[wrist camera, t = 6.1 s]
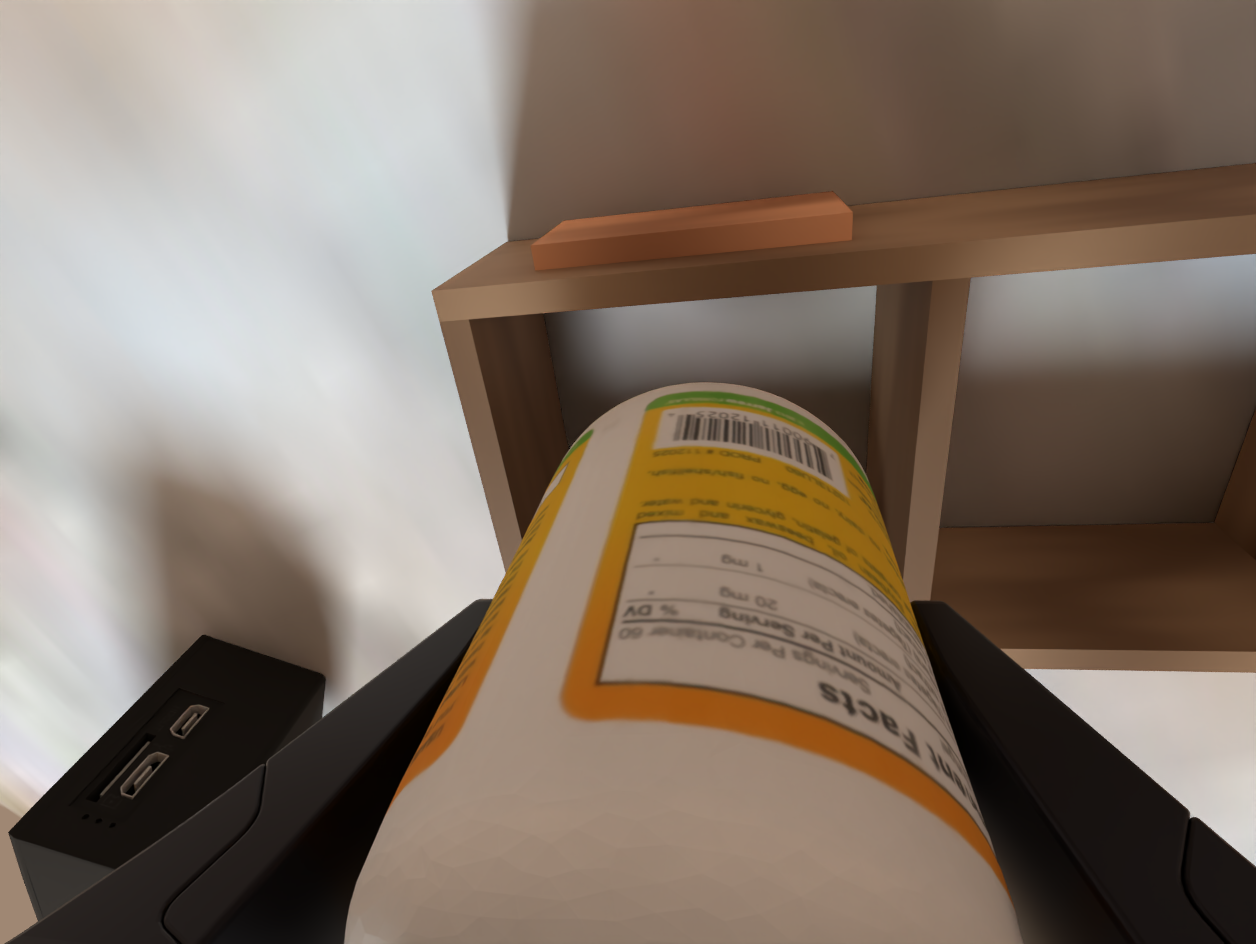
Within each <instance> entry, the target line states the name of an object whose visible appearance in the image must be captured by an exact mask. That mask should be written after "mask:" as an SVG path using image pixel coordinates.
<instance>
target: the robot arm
mask: <svg viewBox="0 0 1256 944" xmlns="http://www.w3.org/2000/svg"><path fill="white" fill-rule="evenodd" d="M492 600H493V599H478V600H476V601H474V602H473V603H471V604H470V605H469V606H468V607H466V608H465V609H464V610H462V611H461V612H460V613H458V614H457V615H456V616H455V617H453V618H452V619H451V620H449V621H448V622H447V623H445V624H444V625H443V626H441V627H440V628H439V629H438V630H436V631H435V632H434V633H432V634H431V635H430V636H428V637H427V638H426V639H425V640H423V641H422V642H421V643H419V644H418V645H417V646H415V647H414V648H413V649H412V650H410V651H409V652H408V653H406V654H405V655H404V656H402V657H401V658H400V659H398V660H397V661H396V662H395V663H393V664H392V665H391V666H389V667H388V668H387V669H385V670H384V671H383V672H382V673H380V674H379V675H378V676H376V677H375V678H374V679H372V680H371V681H370V682H369V683H367V684H366V685H365V686H363V687H362V688H361V689H359V690H358V691H357V692H355V693H354V694H353V695H352V696H350V697H349V698H348V699H346V700H345V701H344V702H342V703H341V704H340V705H339V706H337V707H336V708H335V709H333V710H332V711H331V712H329V713H328V714H327V715H326V716H324V717H323V718H322V719H320V720H319V721H318V722H316V723H315V724H314V725H312V726H311V727H310V728H309V729H307V730H306V731H305V732H303V733H302V734H301V735H299V736H298V737H297V738H296V739H294V740H293V741H292V742H290V743H289V744H288V745H286V746H285V747H284V748H282V749H281V750H280V751H279V752H277V753H276V754H275V755H273V756H272V757H271V758H269V759H268V761H267V763H266V765H264V764H262V765H260V766H259V767H257V768H256V769H255V770H254V771H252V772H251V773H250V774H248V775H247V776H246V777H244V778H243V779H242V780H241V781H239V782H238V783H237V784H235V785H234V786H233V787H231V788H230V789H229V790H227V791H226V792H225V793H223V794H222V795H220V796H219V797H218V798H216V799H215V800H214V801H212V802H211V803H210V804H208V805H207V806H206V807H204V808H203V809H202V810H200V811H199V812H198V813H196V814H195V815H194V816H192V817H191V818H189V819H188V820H186V821H185V822H184V823H182V824H181V825H179V826H178V827H176V828H175V829H174V830H172V831H171V832H169V833H168V834H166V835H165V836H163V837H162V838H161V839H159V840H158V841H156V842H155V843H153V844H152V845H151V846H149V847H148V848H146V849H145V850H143V851H142V852H140V853H139V854H138V855H136V856H135V857H133V858H132V859H130V860H129V861H127V862H126V863H124V864H123V865H121V866H120V867H118V868H117V869H115V870H114V871H112V872H111V873H109V874H108V875H106V876H105V877H103V878H102V879H101V880H99V881H98V882H96V883H95V884H93V885H92V886H90V887H89V888H87V889H86V890H84V891H83V892H81V893H80V894H78V895H77V896H75V897H74V898H72V899H71V900H69V901H68V902H66V903H65V904H63V905H62V906H61V907H59V908H58V909H56V910H55V911H53V912H52V913H50V914H49V915H47V916H46V917H44V918H43V919H41V920H40V921H38V922H37V923H36V924H34V925H32V926H31V927H29V928H28V929H27V930H25V931H24V932H22V933H21V934H19V935H18V936H16V937H14V938H13V939H11V940H10V941H8V942H6V943H5V944H344V940H345V931H346V922H347V917H348V911H349V906H350V903H351V899H352V896H353V892H354V889H355V886H356V882H357V880H358V877H359V875H360V873H361V870H362V868H363V866H364V863H365V861H366V859H367V856H368V854H369V852H370V849H371V847H372V845H373V842H374V840H375V838H376V836H377V833H378V831H379V829H380V826H381V824H382V822H383V819H384V817H385V815H386V812H387V810H388V808H389V806H390V804H391V802H392V799H393V797H394V795H395V793H396V791H397V789H398V787H399V784H400V782H401V780H402V778H403V776H404V774H405V772H406V771H407V769H408V767H409V765H410V763H411V761H412V759H413V757H414V755H415V753H416V751H417V749H418V747H419V745H420V743H421V741H422V740H423V738H424V736H425V734H426V732H427V730H428V728H429V726H430V724H431V722H432V720H433V718H434V716H435V714H436V712H437V710H438V708H439V706H440V704H441V702H442V700H443V698H444V696H445V694H446V692H447V690H448V688H449V686H450V684H451V682H452V680H453V678H454V676H455V674H456V672H457V670H458V668H459V666H460V664H461V662H462V660H463V658H464V656H465V654H466V652H467V651H468V649H469V647H470V645H471V643H472V641H473V639H474V637H475V635H476V633H477V631H478V629H479V627H480V625H481V623H482V621H483V619H484V617H485V614H486V612H487V610H488V608H489V606H490V604H491V602H492ZM910 604H911V607H912V610H913V613H914V616H915V619H916V622H917V625H918V628H919V631H920V634H921V637H922V640H923V643H924V646H925V649H926V652H927V655H928V658H929V660H930V664H931V667H932V670H933V674H934V677H935V680H936V683H937V686H938V689H939V692H940V695H941V698H942V701H943V704H944V707H945V710H946V713H947V716H948V719H949V722H950V725H951V728H952V731H953V734H954V737H955V740H956V742H957V745H958V748H959V751H960V754H961V757H962V760H963V763H964V766H965V769H966V771H967V774H968V777H969V780H970V783H971V786H972V789H973V792H974V795H975V797H976V800H977V803H978V806H979V809H980V812H981V815H982V817H983V820H984V823H985V826H986V828H987V831H988V833H989V836H990V839H991V842H992V845H993V849H994V852H995V855H996V858H997V861H998V864H999V866H1000V868H1001V870H1002V873H1003V876H1004V879H1005V882H1006V885H1007V888H1008V891H1009V894H1010V897H1011V899H1012V902H1013V905H1014V908H1015V912H1016V916H1017V921H1018V925H1019V930H1020V934H1021V937H1022V940H1023V944H1256V866H1255V865H1253V864H1252V863H1251V862H1250V861H1248V860H1247V859H1246V858H1245V857H1244V856H1242V855H1241V854H1240V853H1239V852H1238V851H1236V850H1235V849H1234V848H1233V847H1232V846H1230V845H1229V844H1228V843H1227V842H1226V841H1225V840H1223V839H1222V838H1221V837H1220V836H1219V835H1218V834H1216V833H1215V832H1214V831H1213V830H1212V829H1211V828H1209V827H1208V826H1207V825H1206V824H1205V823H1204V822H1202V821H1201V820H1200V819H1199V818H1196V817H1192V818H1190V812H1189V810H1188V809H1187V808H1186V807H1184V806H1183V805H1182V804H1181V803H1180V802H1179V801H1177V800H1176V799H1175V798H1174V797H1173V796H1172V795H1170V794H1169V793H1168V792H1167V791H1166V790H1165V789H1163V788H1162V787H1161V786H1160V785H1159V784H1158V783H1156V782H1155V781H1154V780H1153V779H1152V778H1151V777H1149V776H1148V775H1147V774H1146V773H1145V772H1144V771H1142V770H1141V769H1140V768H1139V767H1138V766H1137V765H1135V764H1134V763H1133V762H1132V761H1131V760H1130V759H1128V758H1127V757H1126V756H1125V755H1124V754H1122V753H1121V752H1120V751H1119V750H1118V749H1117V748H1115V747H1114V746H1113V745H1112V744H1111V743H1110V742H1108V741H1107V740H1106V739H1105V738H1104V737H1103V736H1101V735H1100V734H1099V733H1098V732H1097V731H1096V730H1094V729H1093V728H1092V727H1091V726H1090V725H1089V724H1087V723H1086V722H1085V721H1084V720H1083V719H1082V718H1080V717H1079V716H1078V715H1077V714H1076V713H1075V712H1073V711H1072V710H1071V709H1070V708H1069V707H1068V706H1066V705H1065V704H1064V703H1063V702H1062V701H1061V700H1059V699H1058V698H1057V697H1056V696H1055V695H1054V694H1052V693H1051V692H1050V691H1049V690H1048V689H1047V688H1045V687H1044V686H1043V685H1042V684H1041V683H1040V682H1038V681H1037V680H1036V679H1035V678H1034V677H1032V676H1031V675H1030V674H1029V673H1028V672H1027V671H1025V670H1024V669H1023V668H1022V667H1021V666H1020V665H1018V664H1017V663H1016V662H1015V661H1014V660H1013V659H1011V658H1010V657H1009V656H1008V655H1007V654H1006V653H1004V652H1003V651H1002V650H1001V649H1000V648H999V647H997V646H996V645H995V644H994V643H993V642H992V641H990V640H989V639H988V638H987V637H986V636H985V635H983V634H982V633H981V632H980V631H979V630H978V629H976V628H975V627H974V626H973V625H972V624H971V623H969V622H968V621H967V620H966V619H965V618H964V617H962V616H961V615H960V614H959V613H958V612H957V611H955V610H954V609H953V608H952V607H951V606H950V605H948V604H947V603H945V602H943V601H939V600H914V601H912V602H910Z"/></svg>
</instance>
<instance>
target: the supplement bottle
mask: <svg viewBox="0 0 1256 944" xmlns="http://www.w3.org/2000/svg"><path fill="white" fill-rule="evenodd" d="M344 944H1023V940H1022V937H1021V934H1020V930H1019V925H1018V921H1017V916H1016V912H1015V908H1014V905H1013V902H1012V899H1011V897H1010V894H1009V891H1008V888H1007V885H1006V882H1005V879H1004V876H1003V873H1002V870H1001V868H1000V866H999V864H998V861H997V858H996V855H995V852H994V849H993V845H992V842H991V839H990V836H989V833H988V831H987V828H986V826H985V823H984V820H983V817H982V815H981V812H980V809H979V806H978V803H977V800H976V797H975V795H974V792H973V789H972V786H971V783H970V780H969V777H968V774H967V771H966V769H965V766H964V763H963V760H962V757H961V754H960V751H959V748H958V745H957V742H956V740H955V737H954V734H953V731H952V728H951V725H950V722H949V719H948V716H947V713H946V710H945V707H944V704H943V701H942V698H941V695H940V692H939V689H938V686H937V683H936V680H935V677H934V674H933V670H932V667H931V664H930V660H929V658H928V655H927V652H926V649H925V646H924V643H923V640H922V637H921V634H920V631H919V628H918V625H917V622H916V619H915V616H914V613H913V610H912V607H911V604H910V601H909V598H908V595H907V592H906V588H905V585H904V582H903V579H902V576H901V573H900V570H899V567H898V564H897V561H896V558H895V556H894V552H893V549H892V546H891V542H890V539H889V536H888V533H887V530H886V527H885V524H884V521H883V518H882V515H881V513H880V510H879V507H878V504H877V501H876V499H875V496H874V493H873V491H872V488H871V486H870V483H869V481H868V478H867V476H866V474H865V472H864V470H863V468H862V466H861V464H860V463H859V461H858V460H857V458H856V457H855V455H854V454H853V452H852V451H851V450H850V448H849V447H848V446H847V445H846V443H845V442H844V441H843V440H842V439H841V438H840V437H839V436H838V435H837V434H836V433H835V432H834V431H833V430H832V429H831V428H830V427H828V426H827V425H826V424H825V423H823V422H822V421H821V420H820V419H818V418H817V417H815V416H814V415H812V414H811V413H809V412H808V411H806V410H805V409H803V408H801V407H799V406H797V405H796V404H794V403H792V402H790V401H788V400H786V399H784V398H782V397H779V396H776V395H774V394H771V393H768V392H765V391H762V390H759V389H756V388H751V387H746V386H742V385H736V384H727V383H713V382H698V383H685V384H678V385H671V386H666V387H663V388H659V389H655V390H651V391H648V392H646V393H643V394H640V395H638V396H635V397H633V398H631V399H629V400H627V401H624V402H622V403H620V404H619V405H617V406H616V407H614V408H612V409H611V410H609V411H608V412H606V413H605V414H604V415H602V416H601V417H599V418H598V419H597V420H596V421H595V422H593V423H592V424H591V425H590V426H589V427H588V428H587V429H586V430H585V431H584V432H583V433H582V434H581V435H580V436H579V438H578V439H577V440H576V441H575V442H574V443H573V445H572V446H571V448H570V449H569V451H568V452H567V454H566V455H565V457H564V458H563V460H562V462H561V464H560V465H559V467H558V469H557V471H556V472H555V474H554V476H553V478H552V480H551V482H550V484H549V486H548V487H547V489H546V492H545V494H544V496H543V498H542V500H541V502H540V504H539V506H538V508H537V511H536V513H535V515H534V517H533V519H532V521H531V523H530V525H529V527H528V529H527V531H526V533H525V535H524V537H523V539H522V542H521V544H520V546H519V548H518V550H517V552H516V554H515V556H514V558H513V560H512V562H511V564H510V566H509V568H508V570H507V572H506V574H505V577H504V579H503V580H502V582H501V584H500V586H499V588H498V590H497V592H496V594H495V596H494V598H493V600H492V602H491V604H490V606H489V608H488V610H487V612H486V614H485V617H484V619H483V621H482V623H481V625H480V627H479V629H478V631H477V633H476V635H475V637H474V639H473V641H472V643H471V645H470V647H469V649H468V651H467V652H466V654H465V656H464V658H463V660H462V662H461V664H460V666H459V668H458V670H457V672H456V674H455V676H454V678H453V680H452V682H451V684H450V686H449V688H448V690H447V692H446V694H445V696H444V698H443V700H442V702H441V704H440V706H439V708H438V710H437V712H436V714H435V716H434V718H433V720H432V722H431V724H430V726H429V728H428V730H427V732H426V734H425V736H424V738H423V740H422V741H421V743H420V745H419V747H418V749H417V751H416V753H415V755H414V757H413V759H412V761H411V763H410V765H409V767H408V769H407V771H406V772H405V774H404V776H403V778H402V780H401V782H400V784H399V787H398V789H397V791H396V793H395V795H394V797H393V799H392V802H391V804H390V806H389V808H388V810H387V812H386V815H385V817H384V819H383V822H382V824H381V826H380V829H379V831H378V833H377V836H376V838H375V840H374V842H373V845H372V847H371V849H370V852H369V854H368V856H367V859H366V861H365V863H364V866H363V868H362V870H361V873H360V875H359V877H358V880H357V882H356V886H355V889H354V892H353V896H352V899H351V903H350V906H349V911H348V917H347V922H346V931H345V940H344Z"/></svg>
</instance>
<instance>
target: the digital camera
mask: <svg viewBox="0 0 1256 944" xmlns="http://www.w3.org/2000/svg"><path fill="white" fill-rule="evenodd" d="M324 686H325V678H324V676H323V675H322V674H320V673H317V672H314V671H311V670H308V669H305V668H302V667H299V666H296V665H293V664H290V663H287V662H284V661H281V660H278V659H275V658H272V657H269V656H266V655H263V654H260V653H257V652H254V651H251V650H248V649H245V648H242V647H239V646H236V645H233V644H229V643H226V642H223V641H220V640H217V639H214V638H212V637H209V636H206V635H202V636H201V637H200V638H199V639H198V640H197V641H196V642H195V643H194V644H193V645H192V646H191V647H190V648H189V649H188V650H187V651H186V652H185V653H184V654H183V655H182V656H181V657H180V658H179V659H178V660H177V661H176V662H175V663H174V664H173V665H172V666H171V667H170V668H169V669H168V670H167V671H166V672H165V673H164V674H163V675H162V676H161V677H160V678H159V679H158V680H157V681H156V682H155V683H154V684H153V685H152V686H151V687H150V688H149V689H148V690H147V691H146V692H145V693H144V694H143V695H142V696H141V697H140V698H139V699H138V700H137V701H136V702H135V703H134V704H133V706H132V707H131V708H130V709H129V710H128V711H127V712H126V713H125V714H124V715H123V716H122V717H121V718H120V719H119V720H118V721H117V722H116V723H115V724H114V725H113V726H112V727H111V728H110V729H109V730H108V731H107V732H106V733H105V734H104V735H103V736H102V737H101V738H100V739H99V740H98V741H97V742H96V743H95V744H94V745H93V746H92V747H91V748H90V749H89V750H88V751H87V752H86V753H85V754H84V755H83V756H82V757H81V758H80V759H79V760H78V761H77V762H76V763H75V764H74V765H73V766H72V767H71V768H70V769H69V770H68V771H67V772H66V773H65V774H64V775H63V776H62V777H61V778H60V779H59V780H58V781H57V782H56V783H55V784H54V785H53V786H52V787H51V788H50V789H49V790H48V791H47V792H46V793H45V794H44V795H43V797H42V798H41V799H40V800H39V801H38V802H37V803H36V804H35V805H34V806H33V807H32V808H31V809H30V810H29V811H28V812H27V813H26V814H25V815H24V816H23V817H22V818H21V819H20V821H19V822H18V823H17V824H16V825H15V826H14V827H13V828H12V829H11V830H10V831H9V832H8V833H9V836H10V839H11V842H12V846H13V849H14V852H15V855H16V858H17V862H18V865H19V868H20V871H21V874H22V877H23V880H24V883H25V886H26V889H27V892H28V894H29V897H30V900H31V903H32V906H33V908H34V911H35V914H36V917H37V920H38V921H40V920H41V919H43V918H44V917H46V916H47V915H49V914H50V913H52V912H53V911H55V910H56V909H58V908H59V907H61V906H62V905H63V904H65V903H66V902H68V901H69V900H71V899H72V898H74V897H75V896H77V895H78V894H80V893H81V892H83V891H84V890H86V889H87V888H89V887H90V886H92V885H93V884H95V883H96V882H98V881H99V880H101V879H102V878H103V877H105V876H106V875H108V874H109V873H111V872H112V871H114V870H115V869H117V868H118V867H120V866H121V865H123V864H124V863H126V862H127V861H129V860H130V859H132V858H133V857H135V856H136V855H138V854H139V853H140V852H142V851H143V850H145V849H146V848H148V847H149V846H151V845H152V844H153V843H155V842H156V841H158V840H159V839H161V838H162V837H163V836H165V835H166V834H168V833H169V832H171V831H172V830H174V829H175V828H176V827H178V826H179V825H181V824H182V823H184V822H185V821H186V820H188V819H189V818H191V817H192V816H194V815H195V814H196V813H198V812H199V811H200V810H202V809H203V808H204V807H206V806H207V805H208V804H210V803H211V802H212V801H214V800H215V799H216V798H218V797H219V796H220V795H222V794H223V793H225V792H226V791H227V790H229V789H230V788H231V787H233V786H234V785H235V784H237V783H238V782H239V781H241V780H242V779H243V778H244V777H246V776H247V775H248V774H250V773H251V772H252V771H254V770H255V769H256V768H257V767H259V766H260V765H262V764H264V765H266V763H267V761H268V759H269V758H271V757H272V756H273V755H275V754H276V753H277V752H279V751H280V750H281V749H282V748H284V747H285V746H286V745H288V744H289V743H290V742H292V741H293V740H294V739H296V738H297V737H298V736H299V735H301V734H302V733H303V732H305V731H306V730H307V729H309V728H310V727H311V726H312V725H314V724H315V723H316V722H318V721H319V720H320V719H322V708H323V697H324Z"/></svg>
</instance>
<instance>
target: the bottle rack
mask: <svg viewBox="0 0 1256 944" xmlns="http://www.w3.org/2000/svg"><path fill="white" fill-rule="evenodd" d="M1246 254H1256V163H1252V164H1242V165H1233V166H1223V167H1214V168H1204V169H1195V170H1185V171H1176V172H1166V173H1157V174H1147V175H1138V176H1128V177H1119V178H1109V179H1100V180H1090V181H1081V182H1071V183H1062V184H1052V185H1043V186H1033V187H1024V188H1014V189H1005V190H995V191H986V192H976V193H967V194H957V195H948V196H938V197H929V198H919V199H909V200H900V201H890V202H881V203H871V204H862V205H852V206H847V205H846V204H845V203H844V202H843V201H842V200H841V199H840V198H839V197H838V196H837V195H836V194H835V193H834V192H833V191H831V192H821V193H812V194H803V195H794V196H785V197H776V198H767V199H758V200H748V201H739V202H730V203H721V204H712V205H703V206H694V207H684V208H675V209H666V210H657V211H648V212H639V213H630V214H621V215H611V216H602V217H593V218H584V219H575V220H566V221H563V222H561V223H560V224H559V225H557V226H556V227H555V228H553V229H552V230H551V231H549V232H548V233H547V234H545V235H544V236H543V237H541V238H539V239H529V240H520V241H510V242H506V243H504V244H503V245H501V246H500V247H498V248H497V249H495V250H494V251H492V252H491V253H489V254H487V255H486V256H484V257H483V258H481V259H480V260H478V261H477V262H475V263H474V264H472V265H471V266H469V267H467V268H466V269H464V270H463V271H461V272H460V273H458V274H457V275H455V276H454V277H452V278H451V279H449V280H448V281H446V282H444V283H443V284H441V285H440V286H438V287H437V288H435V289H434V290H432V295H433V299H434V302H435V306H436V310H437V314H438V318H439V321H440V325H441V329H442V333H443V337H444V340H445V344H446V348H447V352H448V356H449V359H450V363H451V367H452V371H453V374H454V378H455V382H456V386H457V390H458V393H459V397H460V401H461V405H462V409H463V412H464V416H465V420H466V424H467V428H468V431H469V435H470V439H471V443H472V447H473V450H474V454H475V458H476V462H477V465H478V469H479V473H480V477H481V481H482V484H483V488H484V492H485V496H486V500H487V503H488V507H489V511H490V515H491V519H492V522H493V526H494V530H495V534H496V537H497V541H498V545H499V549H500V553H501V556H502V560H503V564H504V568H505V572H507V570H508V568H509V566H510V564H511V562H512V560H513V558H514V556H515V554H516V552H517V550H518V548H519V546H520V544H521V542H522V539H523V537H524V535H525V533H526V531H527V529H528V527H529V525H530V523H531V521H532V519H533V517H534V515H535V513H536V511H537V508H538V506H539V504H540V502H541V500H542V498H543V496H544V494H545V492H546V489H547V487H548V486H549V484H550V482H551V480H552V478H553V476H554V474H555V472H556V471H557V469H558V467H559V465H560V464H561V462H562V460H563V458H564V457H565V455H566V454H567V452H568V451H569V449H568V444H567V438H566V433H565V428H564V422H563V417H562V411H561V406H560V401H559V395H558V390H557V385H556V379H555V374H554V368H553V363H552V358H551V352H550V347H549V342H548V336H547V331H546V325H545V320H544V315H543V313H551V312H563V311H575V310H587V309H599V308H611V307H623V306H635V305H647V304H659V303H671V302H683V301H695V300H707V299H719V298H731V297H743V296H755V295H767V294H779V293H791V292H802V291H814V290H826V289H838V288H850V287H862V286H874V285H877V293H876V310H875V327H874V344H873V361H872V378H871V395H870V412H869V429H868V446H867V463H866V476H867V478H868V481H869V483H870V486H871V488H872V491H873V493H874V496H875V499H876V501H877V504H878V507H879V510H880V513H881V515H882V518H883V521H884V524H885V527H886V530H887V533H888V536H889V539H890V542H891V546H892V549H893V552H894V556H895V558H896V561H897V564H898V567H899V570H900V573H901V576H902V579H903V582H904V585H905V588H906V592H907V595H908V598H909V601H910V602H912V601H914V600H939V601H943V602H945V603H947V604H948V605H950V606H951V607H952V608H953V609H954V610H955V611H957V612H958V613H959V614H960V615H961V616H962V617H964V618H965V619H966V620H967V621H968V622H969V623H971V624H972V625H973V626H974V627H975V628H976V629H978V630H979V631H980V632H981V633H982V634H983V635H985V636H986V637H987V638H988V639H989V640H990V641H992V642H993V643H994V644H995V645H996V646H997V647H999V648H1000V649H1001V650H1002V651H1003V652H1004V653H1006V654H1007V655H1008V656H1009V657H1010V658H1011V659H1013V660H1014V661H1015V662H1016V663H1017V664H1018V665H1020V666H1021V667H1022V668H1023V669H1075V670H1134V671H1193V672H1253V673H1256V409H1255V412H1254V415H1253V418H1252V420H1251V423H1250V426H1249V429H1248V431H1247V434H1246V437H1245V440H1244V442H1243V445H1242V448H1241V451H1240V453H1239V456H1238V459H1237V461H1236V464H1235V467H1234V470H1233V472H1232V475H1231V478H1230V481H1229V483H1228V486H1227V489H1226V492H1225V494H1224V497H1223V500H1222V503H1221V505H1220V508H1219V511H1218V514H1217V516H1216V519H1215V522H1214V523H1168V524H1116V525H1064V526H1012V527H960V528H939V525H940V517H941V509H942V501H943V494H944V486H945V478H946V470H947V462H948V454H949V446H950V438H951V430H952V422H953V414H954V406H955V398H956V390H957V382H958V374H959V367H960V359H961V351H962V343H963V335H964V327H965V319H966V311H967V303H968V295H969V287H970V279H971V277H982V276H994V275H1006V274H1018V273H1030V272H1042V271H1054V270H1066V269H1078V268H1090V267H1102V266H1114V265H1126V264H1138V263H1150V262H1162V261H1174V260H1186V259H1198V258H1210V257H1222V256H1234V255H1246Z"/></svg>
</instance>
